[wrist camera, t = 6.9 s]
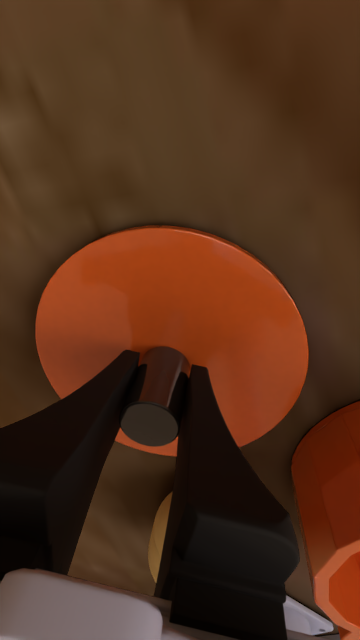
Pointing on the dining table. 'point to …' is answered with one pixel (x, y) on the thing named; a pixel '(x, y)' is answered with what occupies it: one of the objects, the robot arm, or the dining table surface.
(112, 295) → the pot lid
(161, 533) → the potato
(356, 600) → the pot
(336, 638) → the lumpy-topped squat cylinder
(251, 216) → the dining table surface
